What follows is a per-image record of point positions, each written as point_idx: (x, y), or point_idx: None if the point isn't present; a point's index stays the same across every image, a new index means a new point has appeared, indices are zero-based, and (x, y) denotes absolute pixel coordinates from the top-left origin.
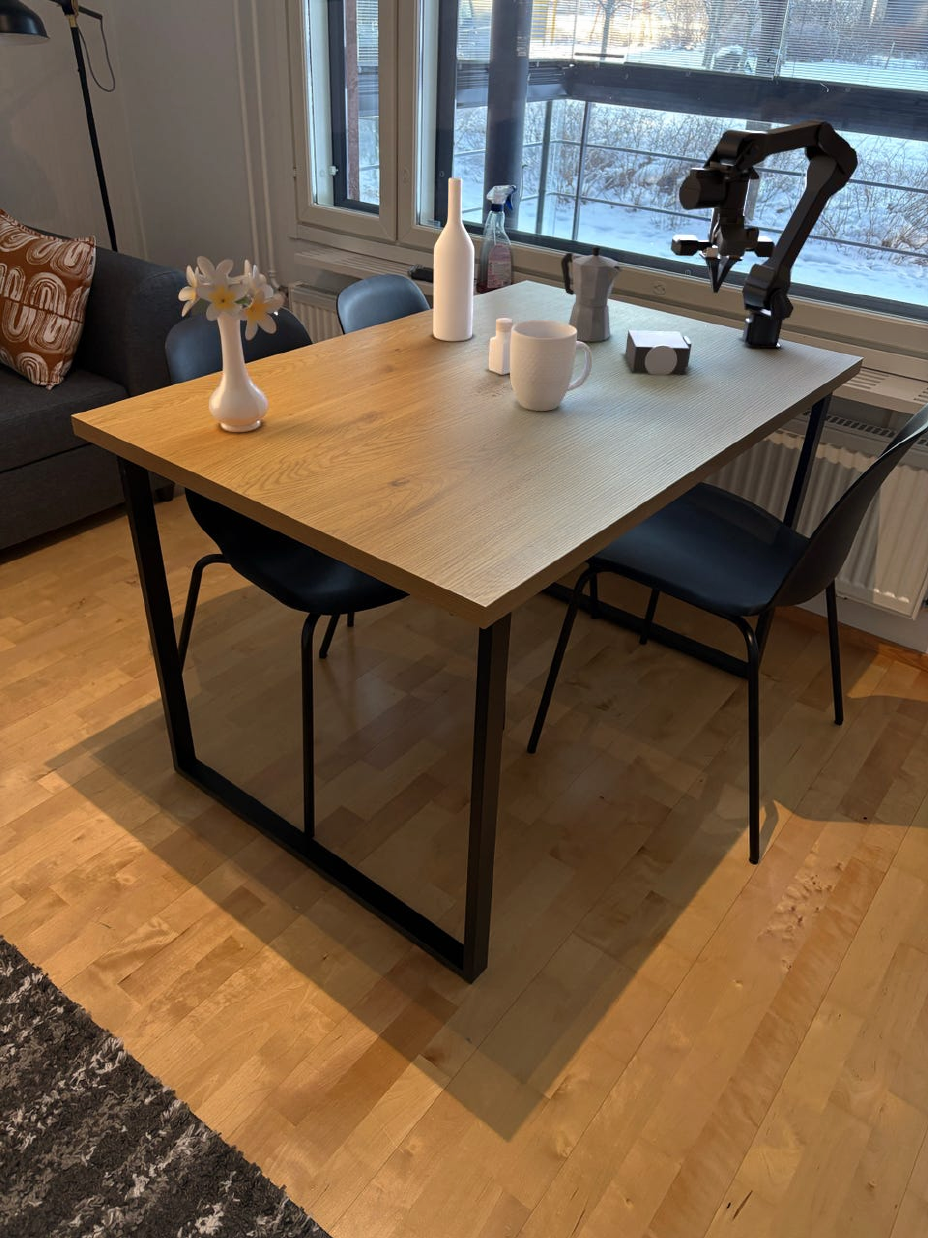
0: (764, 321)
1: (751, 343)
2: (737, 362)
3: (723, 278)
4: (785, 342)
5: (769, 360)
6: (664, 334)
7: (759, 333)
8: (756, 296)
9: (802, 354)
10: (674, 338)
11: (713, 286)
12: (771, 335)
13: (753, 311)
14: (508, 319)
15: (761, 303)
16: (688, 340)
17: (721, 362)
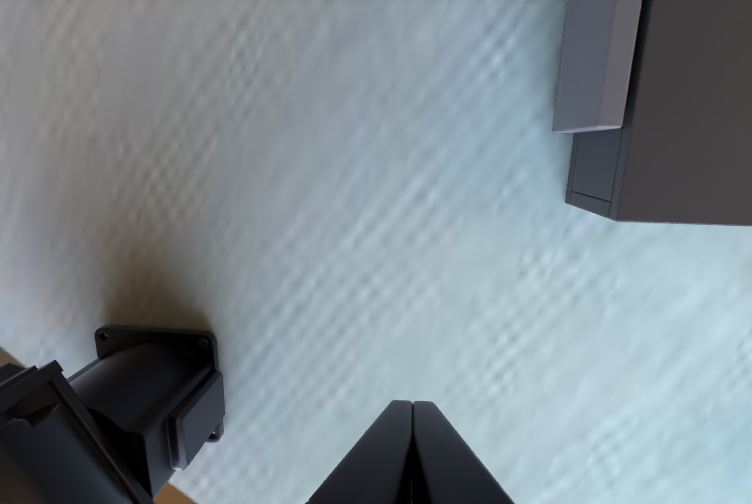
0: (105, 394)
1: (200, 357)
2: (301, 138)
3: (344, 479)
4: None
5: (162, 177)
6: (734, 150)
7: (153, 368)
8: (68, 486)
9: (27, 262)
10: (700, 64)
11: (453, 427)
12: (107, 358)
13: (135, 481)
14: None
15: (62, 426)
16: (620, 24)
17: (371, 133)
